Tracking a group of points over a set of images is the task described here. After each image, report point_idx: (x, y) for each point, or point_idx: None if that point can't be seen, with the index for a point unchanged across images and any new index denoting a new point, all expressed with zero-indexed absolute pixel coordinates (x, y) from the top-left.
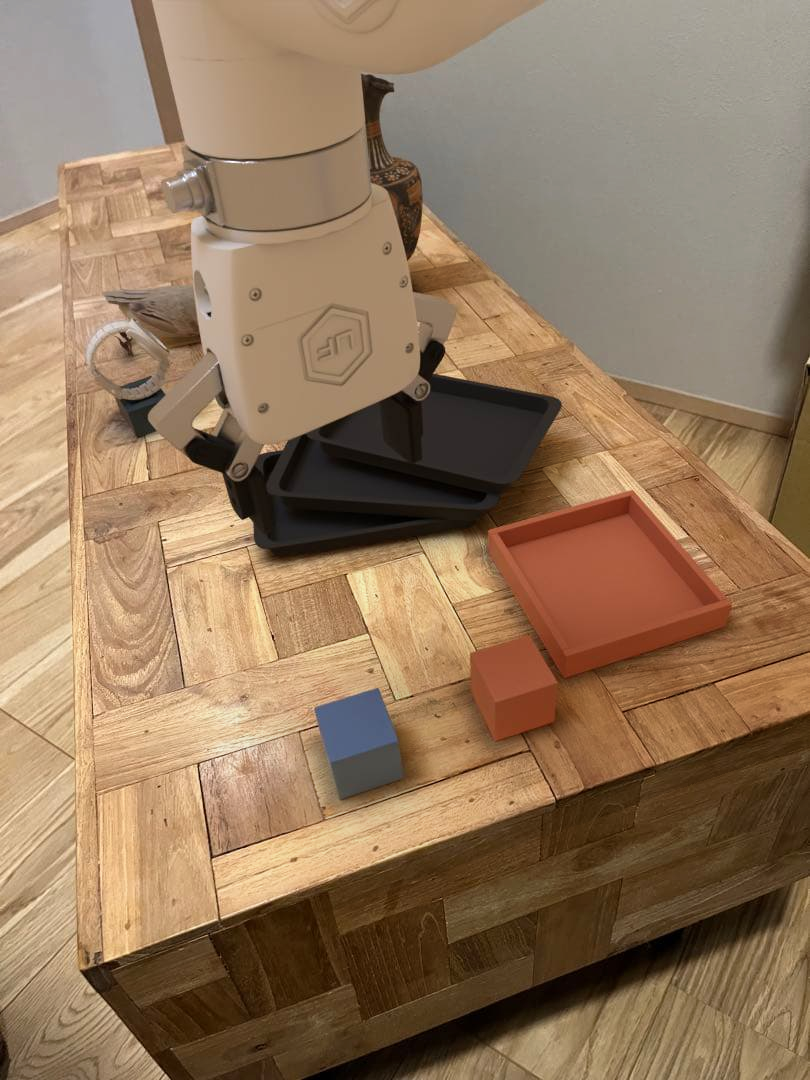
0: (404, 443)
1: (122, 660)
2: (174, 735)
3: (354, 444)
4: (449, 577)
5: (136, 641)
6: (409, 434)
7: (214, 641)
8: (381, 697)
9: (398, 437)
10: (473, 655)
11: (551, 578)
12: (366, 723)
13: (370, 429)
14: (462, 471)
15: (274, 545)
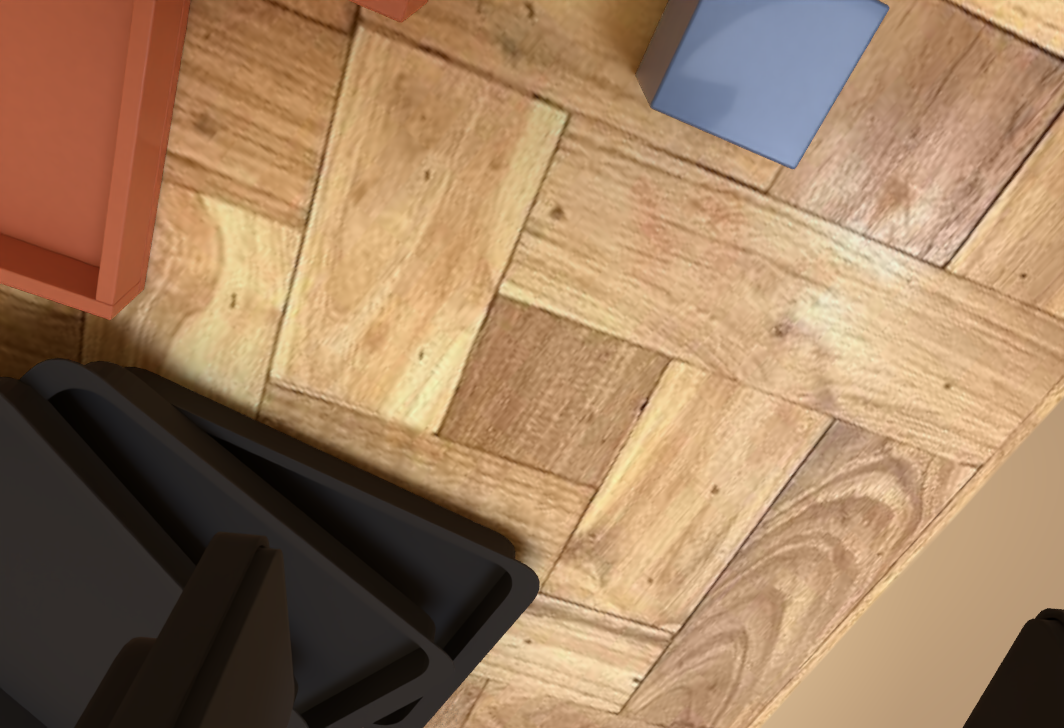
0: (250, 656)
1: (863, 529)
2: (924, 347)
3: None
4: (262, 291)
5: (819, 546)
6: (207, 698)
7: (727, 465)
8: (665, 77)
9: (252, 700)
10: (400, 7)
11: (55, 121)
12: (747, 39)
13: None
14: (64, 477)
15: (514, 566)
